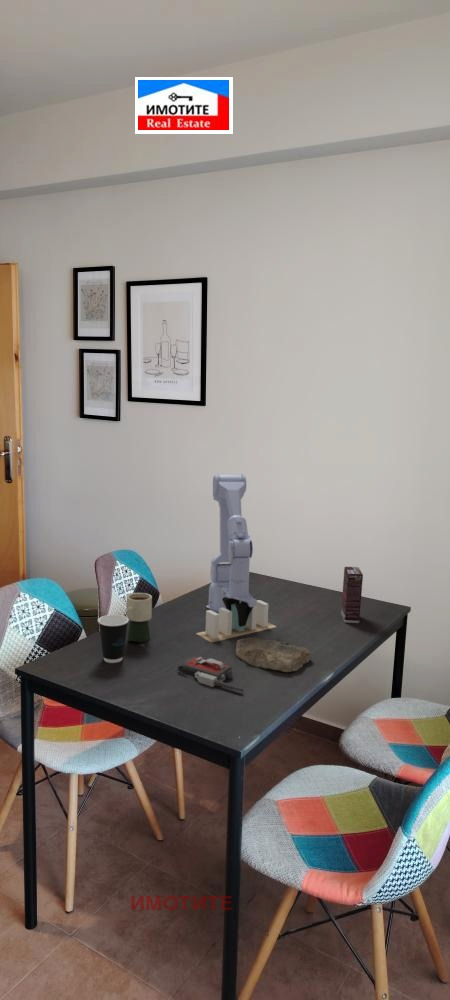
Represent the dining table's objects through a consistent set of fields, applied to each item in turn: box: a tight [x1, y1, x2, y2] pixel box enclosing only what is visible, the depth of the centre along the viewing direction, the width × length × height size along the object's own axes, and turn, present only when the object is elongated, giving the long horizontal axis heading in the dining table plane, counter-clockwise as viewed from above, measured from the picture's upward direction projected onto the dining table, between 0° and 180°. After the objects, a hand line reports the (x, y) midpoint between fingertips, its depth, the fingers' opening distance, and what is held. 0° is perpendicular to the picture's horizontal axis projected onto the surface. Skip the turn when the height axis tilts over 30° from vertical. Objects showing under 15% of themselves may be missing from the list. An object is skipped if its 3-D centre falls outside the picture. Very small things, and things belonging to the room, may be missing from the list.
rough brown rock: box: [235, 637, 313, 673], centre depth 188 cm, size 14×5×20 cm
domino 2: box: [218, 607, 232, 636], centre depth 204 cm, size 2×4×7 cm, turn 36°
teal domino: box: [231, 604, 244, 632], centre depth 207 cm, size 2×4×7 cm, turn 36°
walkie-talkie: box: [177, 655, 244, 692], centre depth 175 cm, size 9×4×20 cm
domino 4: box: [256, 599, 270, 627], centre depth 212 cm, size 2×4×7 cm, turn 36°
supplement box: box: [340, 566, 364, 624], centre depth 221 cm, size 9×5×16 cm, turn 179°
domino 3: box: [245, 606, 257, 630], centre depth 209 cm, size 2×4×7 cm, turn 36°
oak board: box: [195, 622, 277, 643], centre depth 207 cm, size 8×24×1 cm, turn 126°
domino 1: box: [205, 609, 220, 639], centre depth 202 cm, size 2×4×7 cm, turn 36°
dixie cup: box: [97, 614, 130, 664], centre depth 184 cm, size 8×8×11 cm
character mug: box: [125, 592, 153, 643], centre depth 197 cm, size 11×7×13 cm, turn 154°
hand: (237, 623), depth 207 cm, fingers closed on teal domino, 4 cm apart
